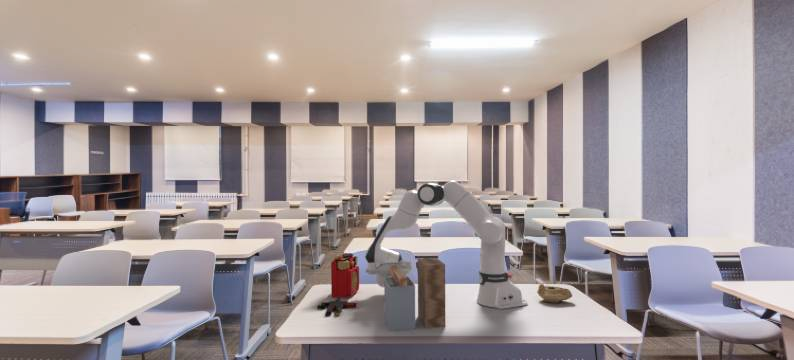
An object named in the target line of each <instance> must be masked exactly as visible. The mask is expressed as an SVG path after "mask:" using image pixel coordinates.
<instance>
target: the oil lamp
mask: <svg viewBox="0 0 794 360" xmlns="http://www.w3.org/2000/svg"><path fill="white" fill-rule="evenodd" d="M536 293H537V294H538V296H539V297H540V298H542V299H543V300H544V301H545V302H547V303H553V304H556V303H557V304H558V303H560V302H561V301H562V302H563V301H566V300H569V299H571V298H572V297H573V293H572V291H571V290H570V289H569V288H563V287H559V286H552V285H551V286H549V285H548V286H547V285H544V284H543V283H540V284H539V286H538V289H537V291H536Z"/></svg>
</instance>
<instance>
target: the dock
mask: <svg viewBox="0 0 794 360" xmlns="http://www.w3.org/2000/svg"><path fill="white" fill-rule="evenodd" d="M406 277H407V286H398V284H397V283H396V281H395V279H394V278H393V277H391V278H386V279H384V287H383V288H384V291H383V292H384V321H385V323H386V326H387V328H388V331H389V332H392V331H393V332H394V331H404V330H415V329H416V285H415V284H414V282H413V281H412V280H411V279H410V277H408V276H406Z"/></svg>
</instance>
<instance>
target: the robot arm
mask: <svg viewBox="0 0 794 360" xmlns="http://www.w3.org/2000/svg"><path fill="white" fill-rule="evenodd" d="M444 202H446V203H448V204H449V205H450V206H451V208H453V209H454V210H455V211H456V212H457V213H458V215H459V216H460V217H461V218H463V219H464V221H465V222H466V223H467V224H468V226H469V227H470V228H471V229H472V230H473V232H474V233H475V234H476V235H477V237H479V239H480V251H479V272H478V283H479V287H478V295H477V298H476V302H477V303H478V304H480V305H482V306H485V307H490V308H495V309H498V310H503V309H511V308H516V307H522V306H527V305H528V301H527V300H526V299H525V298H523V296H522V291H521V289H520V288H519V287H518V286H517V285H515V284H514V283H513V282H512V281H510V280H509V279H513V278H514V276H513V274H511V273H508V272H506V271H505V270H506V269H505V268H506V267H505V265H506V263H505V261H506V259H505V258H506V256H505V253H506V225H505V223H504V221H503V220H502V219H501V218H499V217H497V216H493V215H492V214H491V212H490V211H489V210H488V209H487V208H486V206H484V204H483V203H482V202H481V201H480V200H479V199H478V198H477V197H476V196H475V195H474V194H473V193H472V192H471V191H470V190H468V188H466V187H465V186H463V185H462V184H461V183H460V182H458V181H457V180H453V179H452V180H449V181H447V182H445V183H444V185H440V184H437V183H435V182H434V183H433V182H426V183H423V184H422V185H420V186H419V187H418V190H413V189H409V190H407V191H406V192H405V193H404V195H403V197H402V198H401V200H400V203H399V205H398V208H397V210H396V211H395V213H394V214H393V215H389V216H388V217H387V218H386V219H385V221H384V223H383V224H382V226H381V227H380V228H379V230H378V232H377V234H376V236H375V238H374V240H373V242H372V243H371V244H370V245H369V246H368V248H367V250H366V252H365V260H366V262H367V265H366V266H367V269H366V270H365V273H368V275H370V276H371V275H372V276H373V275H375V281H376V284H377V285H378V286H379V287H381V288H384V279H386V278H391V277H393V276H392V275H391V273H390V265H397V266H398V267H399V269H400V270H401V271H402V272H403V274H404V275H405V276H406V277H407V275H408V274H409V273H411V271H412V269H413V268H412V266H413V265H412V262H411V261H410V260H405V261H404V259H403V257H402V255H401V253H400V252H398V251H395V250H393V249H389V248H386V247H384V246H382V245H381V244H382V243H383V241H384V240H385V238H386V235H387V234H388V233H389V232H391V231H395V230H397V231H398V230H401V231H402V230H409V229H411V228H412V227H414V226H415V225H416V223H417V221H418V219H419V216H420V214H421V211H422V209H423V208H424V207H425V206H430V207H431V206H432V207H435V206H437V205H441V204H442V203H444Z"/></svg>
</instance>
